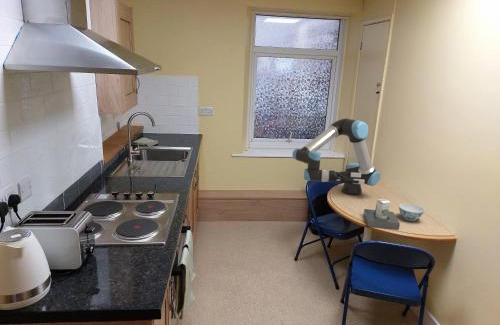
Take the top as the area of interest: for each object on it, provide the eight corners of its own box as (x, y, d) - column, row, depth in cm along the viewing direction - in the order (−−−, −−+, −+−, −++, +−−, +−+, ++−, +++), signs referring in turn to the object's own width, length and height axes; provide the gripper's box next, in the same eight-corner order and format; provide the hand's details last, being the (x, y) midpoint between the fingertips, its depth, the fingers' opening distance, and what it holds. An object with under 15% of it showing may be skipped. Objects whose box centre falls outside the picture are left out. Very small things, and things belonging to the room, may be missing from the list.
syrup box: (380, 219, 221) (383, 198, 217) (387, 223, 215) (390, 201, 212) (373, 220, 219) (376, 199, 215) (379, 224, 213) (383, 202, 210)
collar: (363, 214, 227) (364, 208, 226) (392, 217, 224) (393, 211, 223) (367, 226, 210) (368, 220, 209) (398, 229, 207) (399, 223, 206)
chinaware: (401, 212, 234) (402, 201, 232) (425, 218, 225) (427, 207, 223) (394, 218, 222) (395, 207, 220) (418, 226, 213) (421, 214, 211)
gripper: (326, 175, 234) (359, 178, 231) (328, 188, 210) (365, 190, 207) (327, 165, 232) (360, 167, 229) (330, 176, 208) (366, 179, 205)
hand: (362, 178), depth 218 cm, fingers open, 13 cm apart
